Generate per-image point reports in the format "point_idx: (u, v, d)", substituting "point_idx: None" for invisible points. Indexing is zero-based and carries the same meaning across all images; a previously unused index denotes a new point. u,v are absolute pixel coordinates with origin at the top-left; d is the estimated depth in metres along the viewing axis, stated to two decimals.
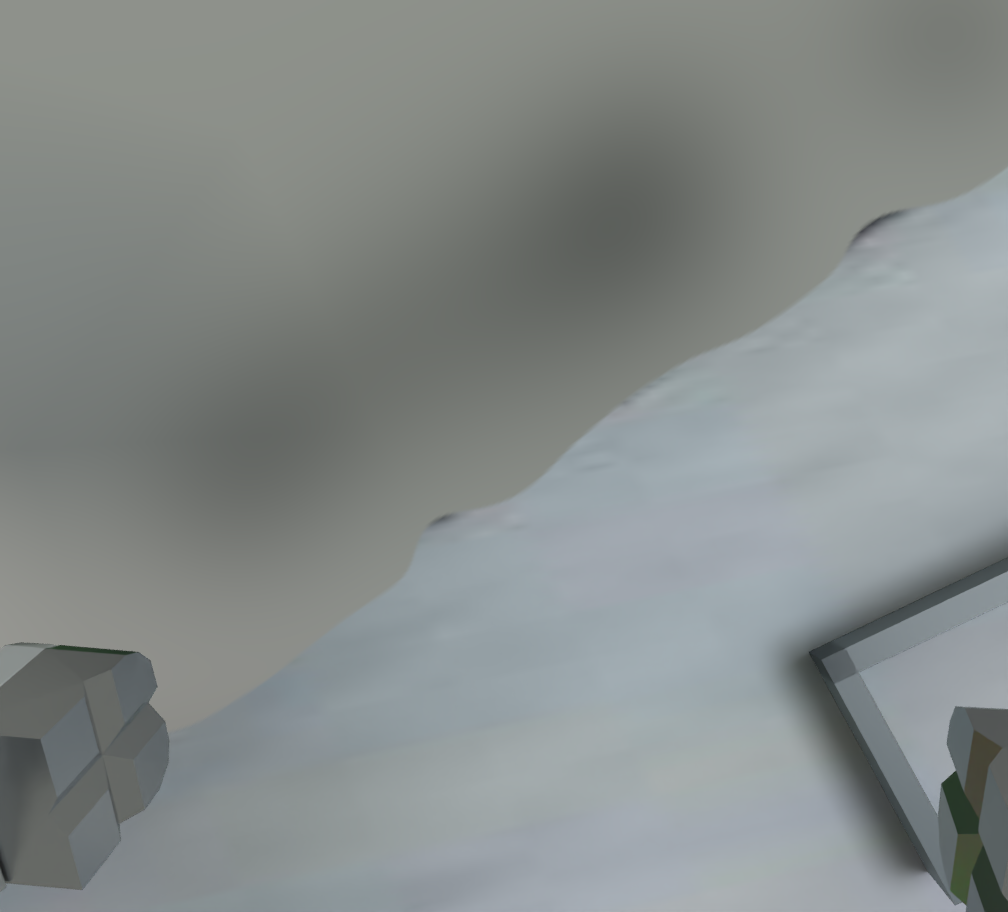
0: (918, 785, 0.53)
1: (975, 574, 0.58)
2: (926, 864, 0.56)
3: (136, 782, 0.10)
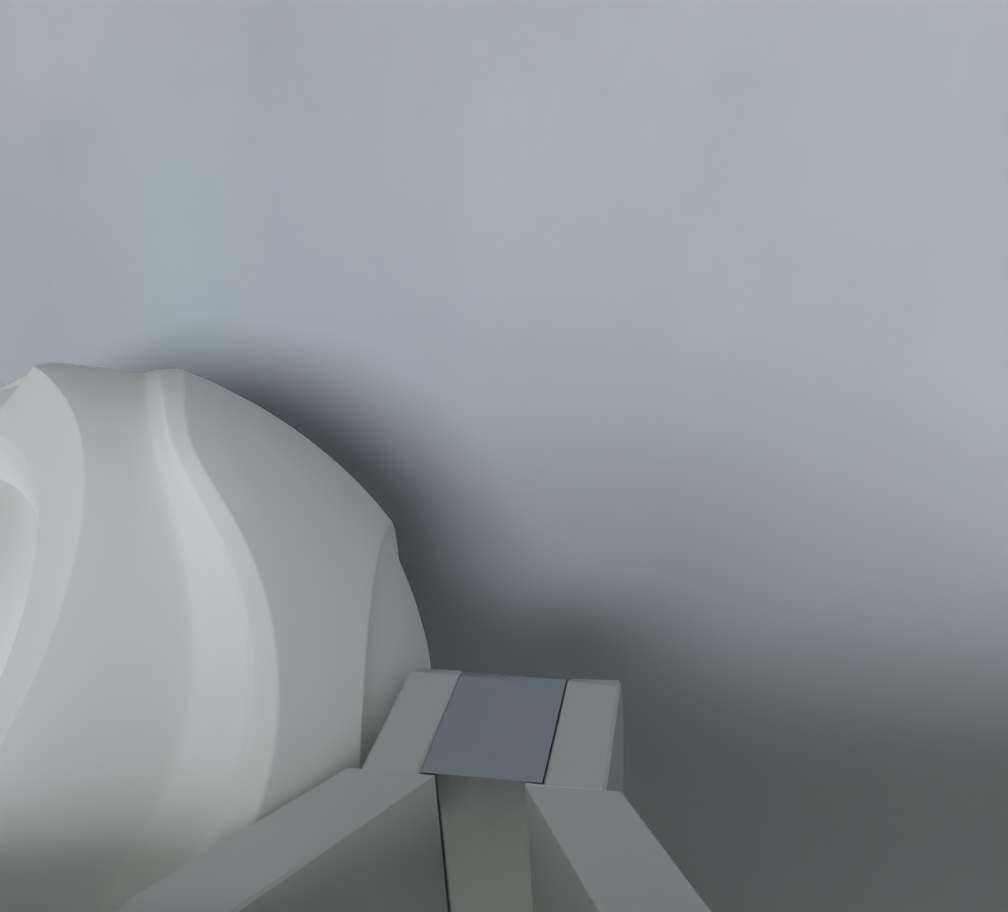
0: None
1: None
2: None
3: None
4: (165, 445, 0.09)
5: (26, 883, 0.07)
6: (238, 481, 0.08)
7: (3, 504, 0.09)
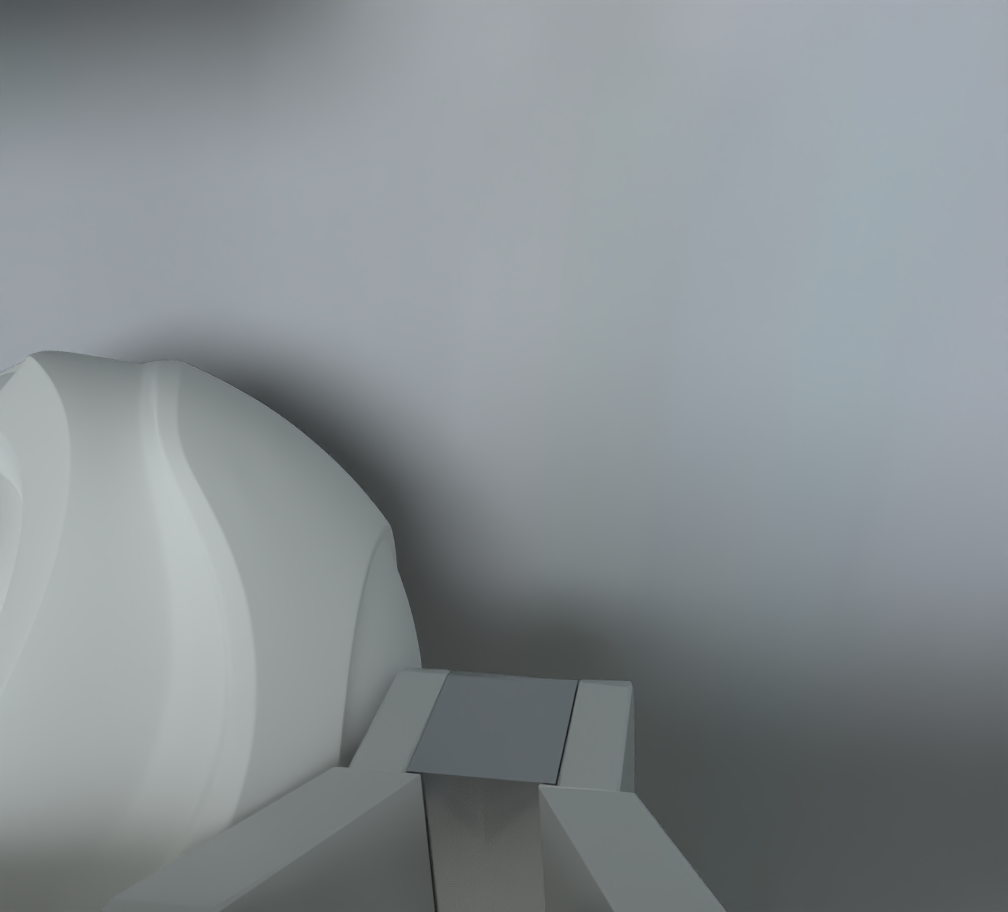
0: None
1: None
2: None
3: None
4: (155, 443, 0.08)
5: None
6: (226, 483, 0.08)
7: None
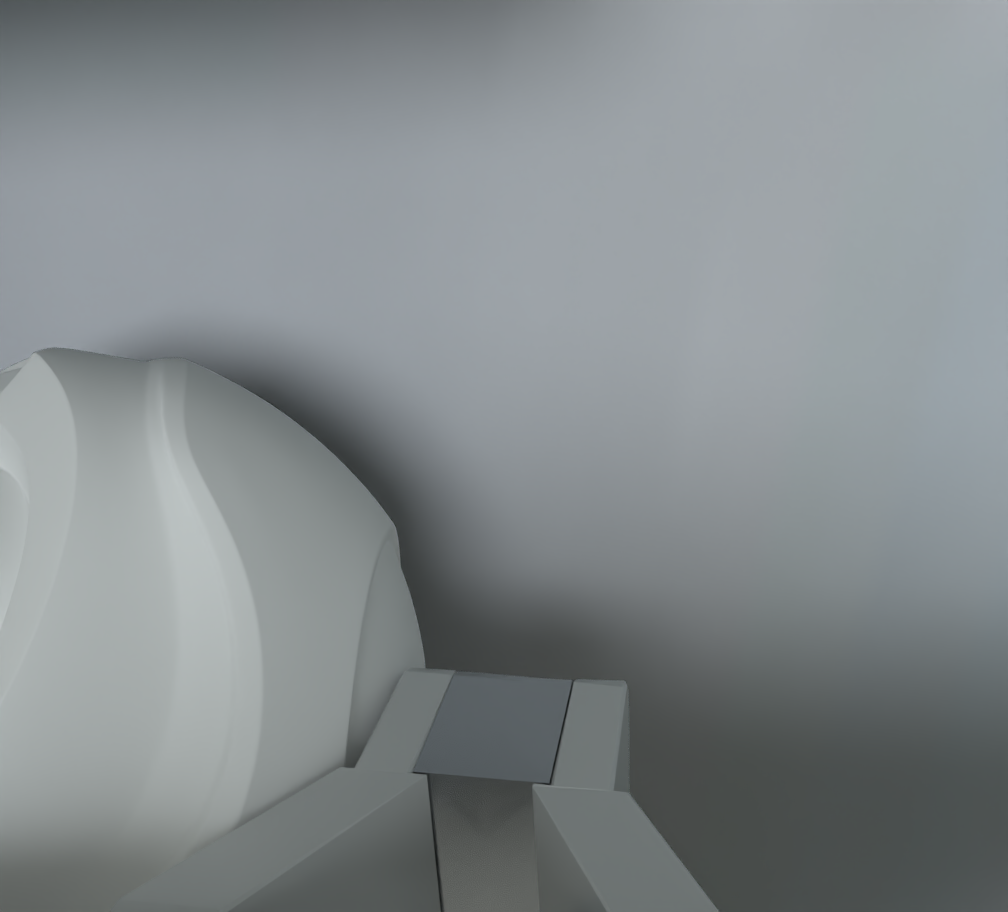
0: None
1: None
2: None
3: None
4: (161, 442, 0.08)
5: None
6: (233, 483, 0.08)
7: None
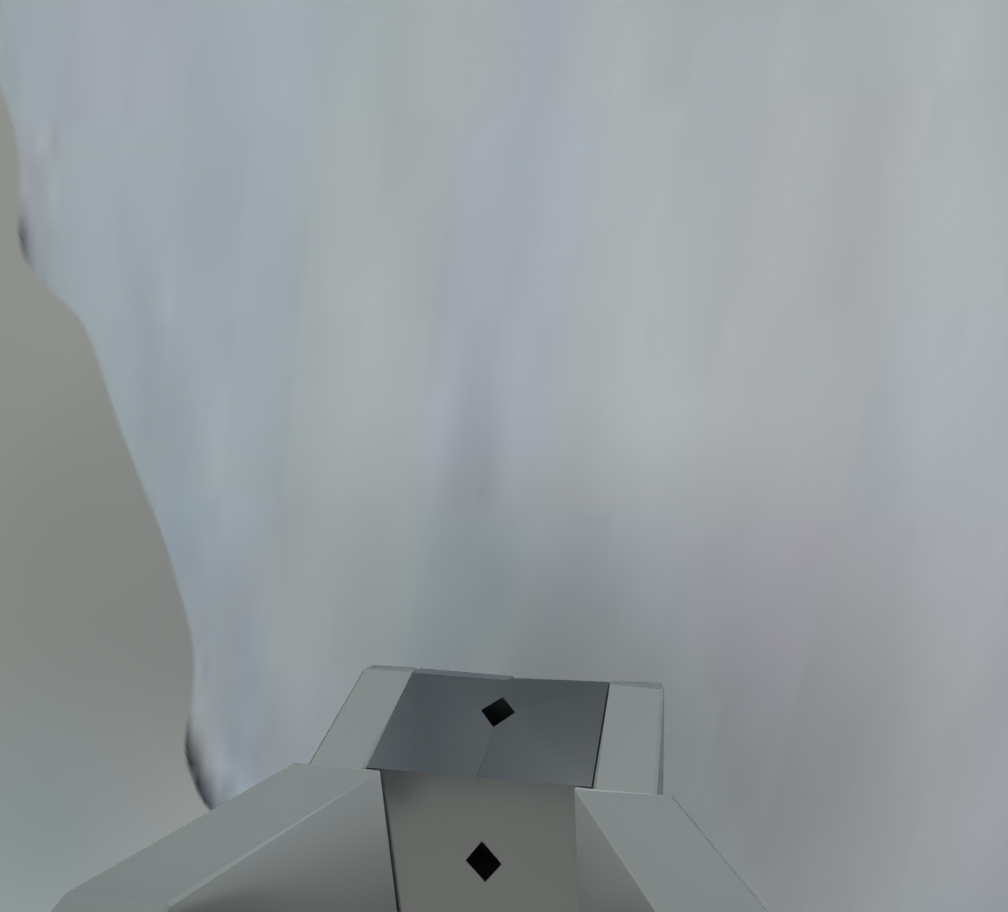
0: None
1: None
2: None
3: None
4: None
5: None
6: None
7: None
